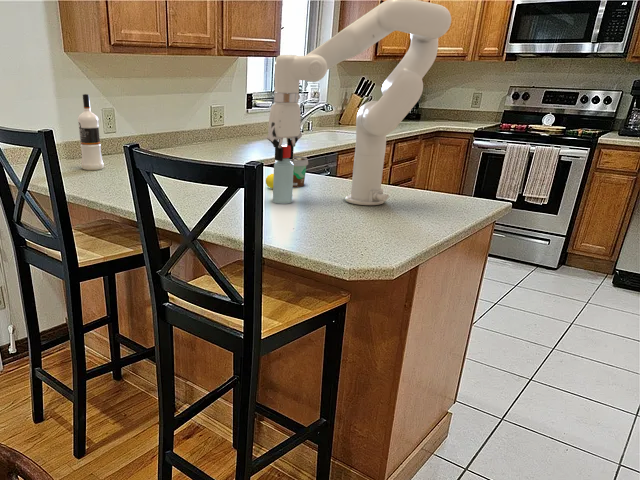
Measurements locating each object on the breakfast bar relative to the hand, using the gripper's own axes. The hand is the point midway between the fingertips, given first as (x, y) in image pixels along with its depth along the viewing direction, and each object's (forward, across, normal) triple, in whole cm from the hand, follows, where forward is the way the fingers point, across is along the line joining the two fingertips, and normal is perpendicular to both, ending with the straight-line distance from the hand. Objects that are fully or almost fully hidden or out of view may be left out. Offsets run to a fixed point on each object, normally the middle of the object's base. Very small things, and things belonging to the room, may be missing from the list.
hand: (283, 159), depth 169 cm
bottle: (+14, 0, 0) cm, 14 cm away
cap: (-1, 0, 0) cm, 1 cm away
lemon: (+14, -11, -17) cm, 25 cm away
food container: (+14, -23, -16) cm, 31 cm away
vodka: (+14, +28, -92) cm, 97 cm away
